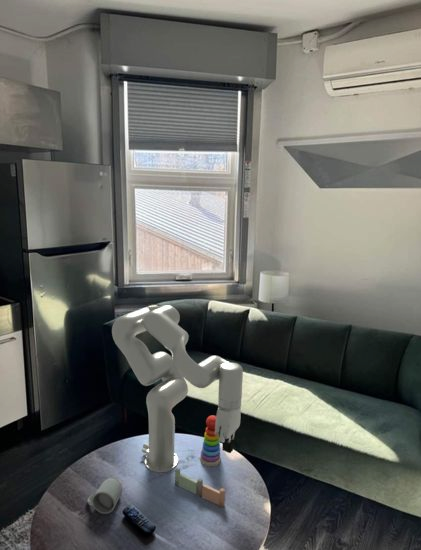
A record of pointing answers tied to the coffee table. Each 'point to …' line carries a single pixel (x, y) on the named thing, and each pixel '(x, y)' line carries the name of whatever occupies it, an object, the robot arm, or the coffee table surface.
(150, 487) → the coffee table surface
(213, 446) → the stacking toy
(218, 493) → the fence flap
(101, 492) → the ceramic mug
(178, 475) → the bar
